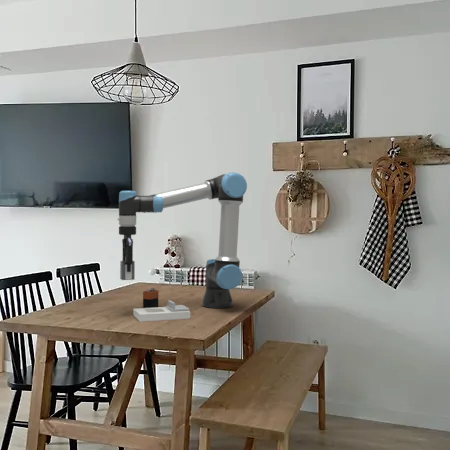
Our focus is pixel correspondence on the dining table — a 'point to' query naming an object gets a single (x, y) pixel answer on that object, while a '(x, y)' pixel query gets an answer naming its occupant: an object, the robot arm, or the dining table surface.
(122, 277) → the plug
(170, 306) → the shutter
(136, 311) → the faceplate
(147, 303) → the battery
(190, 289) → the dining table surface
